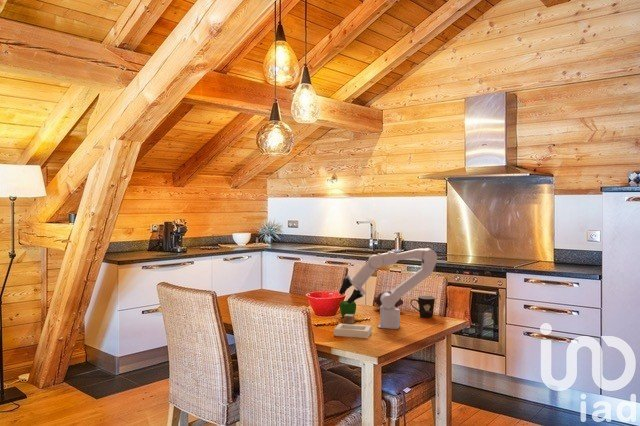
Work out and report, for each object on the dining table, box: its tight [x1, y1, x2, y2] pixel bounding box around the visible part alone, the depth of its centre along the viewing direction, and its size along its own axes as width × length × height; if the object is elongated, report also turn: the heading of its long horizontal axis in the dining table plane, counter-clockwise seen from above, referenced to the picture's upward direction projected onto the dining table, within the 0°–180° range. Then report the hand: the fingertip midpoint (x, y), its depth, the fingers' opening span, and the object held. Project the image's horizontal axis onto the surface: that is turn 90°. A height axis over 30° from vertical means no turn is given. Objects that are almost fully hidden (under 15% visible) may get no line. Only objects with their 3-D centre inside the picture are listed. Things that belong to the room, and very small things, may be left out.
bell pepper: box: [339, 299, 357, 318], centre depth 267 cm, size 8×8×10 cm
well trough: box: [333, 323, 373, 339], centre depth 236 cm, size 15×10×3 cm, turn 75°
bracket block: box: [343, 314, 355, 324], centre depth 246 cm, size 4×4×6 cm
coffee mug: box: [410, 295, 436, 319], centre depth 269 cm, size 12×9×10 cm
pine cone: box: [372, 291, 404, 308], centre depth 283 cm, size 18×10×10 cm, turn 57°
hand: (344, 298), depth 249 cm, fingers open, 7 cm apart
